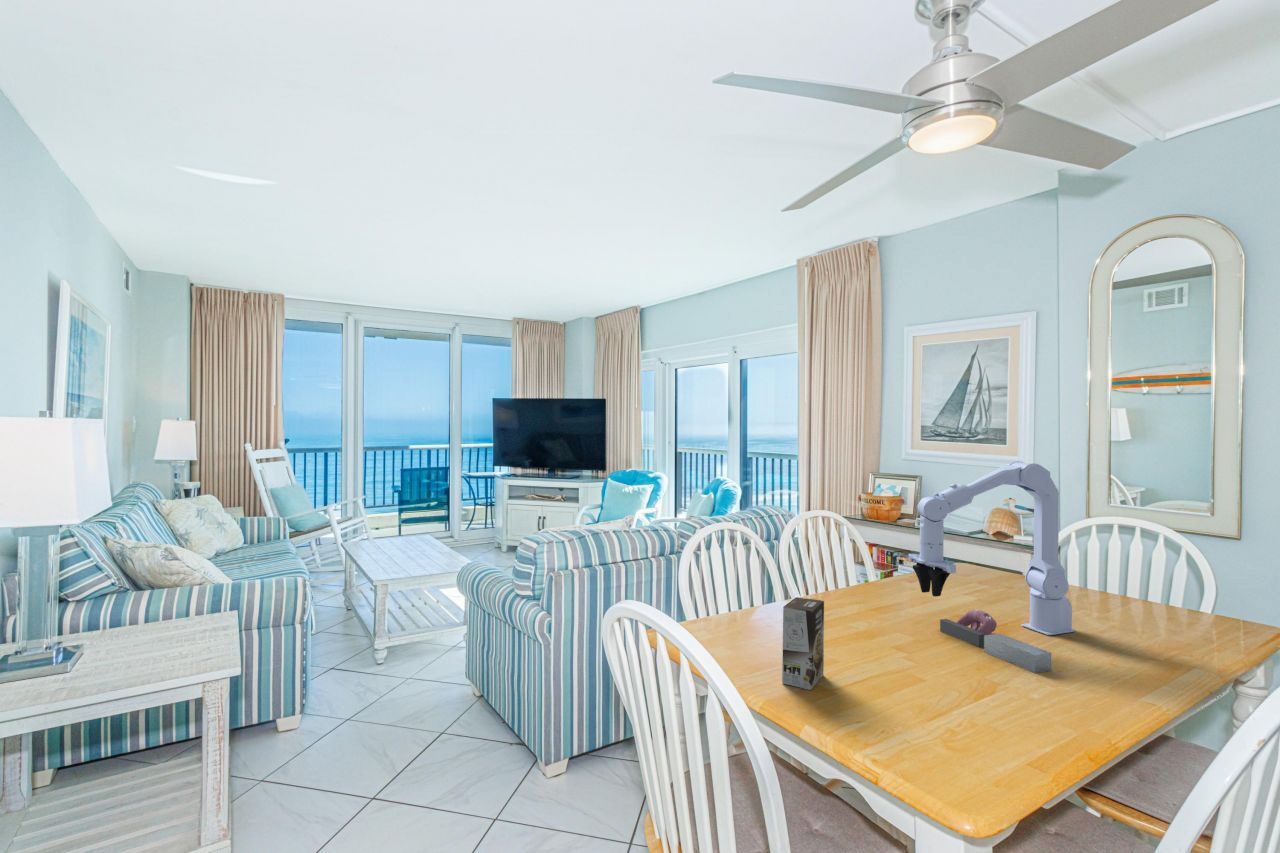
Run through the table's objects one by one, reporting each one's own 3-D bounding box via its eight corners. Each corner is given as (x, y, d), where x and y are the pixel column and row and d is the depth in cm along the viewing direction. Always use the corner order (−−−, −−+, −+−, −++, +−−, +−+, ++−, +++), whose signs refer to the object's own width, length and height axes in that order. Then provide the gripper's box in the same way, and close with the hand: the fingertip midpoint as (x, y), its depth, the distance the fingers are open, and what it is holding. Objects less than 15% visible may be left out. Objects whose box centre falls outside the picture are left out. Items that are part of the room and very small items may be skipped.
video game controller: (990, 646, 155) (1003, 621, 155) (974, 638, 155) (987, 613, 155) (968, 633, 165) (980, 609, 165) (953, 625, 165) (965, 601, 165)
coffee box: (812, 691, 126) (812, 611, 126) (781, 683, 129) (781, 606, 129) (824, 675, 134) (825, 600, 133) (795, 669, 137) (795, 595, 137)
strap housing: (999, 649, 149) (999, 633, 149) (1051, 670, 137) (1051, 652, 137) (984, 651, 147) (984, 635, 147) (1034, 673, 135) (1035, 655, 135)
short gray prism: (946, 630, 162) (946, 618, 162) (985, 646, 151) (985, 633, 151) (940, 631, 162) (940, 619, 162) (978, 647, 150) (978, 634, 150)
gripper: (899, 538, 171) (899, 588, 172) (940, 549, 158) (940, 602, 158) (920, 537, 174) (919, 586, 174) (962, 547, 160) (962, 600, 160)
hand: (931, 594), depth 166 cm, fingers open, 3 cm apart
